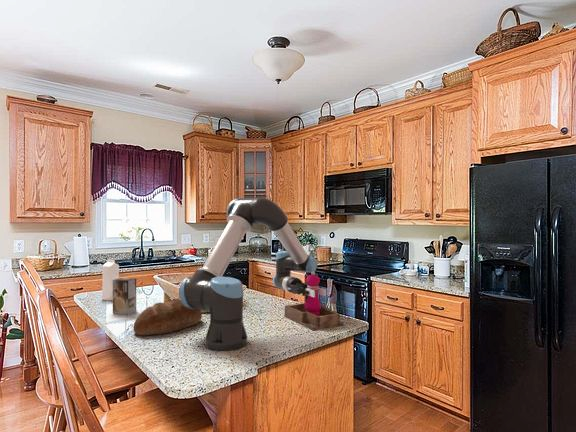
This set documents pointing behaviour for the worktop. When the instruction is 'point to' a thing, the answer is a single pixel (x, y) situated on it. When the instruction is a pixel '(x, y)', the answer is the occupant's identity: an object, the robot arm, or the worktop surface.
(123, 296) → the coffee box
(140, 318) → the bread
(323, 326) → the keyhole cradle
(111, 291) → the milk
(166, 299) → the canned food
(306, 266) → the robot arm
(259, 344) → the worktop surface
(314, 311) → the pepper mill
